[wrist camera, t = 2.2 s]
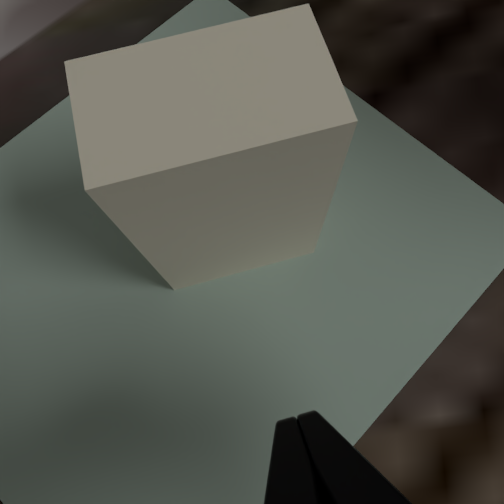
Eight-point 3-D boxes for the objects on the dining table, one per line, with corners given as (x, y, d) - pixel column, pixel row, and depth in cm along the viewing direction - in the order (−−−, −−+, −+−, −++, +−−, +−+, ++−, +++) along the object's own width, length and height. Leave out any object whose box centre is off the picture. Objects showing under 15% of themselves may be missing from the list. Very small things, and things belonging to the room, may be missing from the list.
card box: (313, 252, 18) (357, 120, 9) (174, 290, 17) (84, 190, 9) (289, 180, 19) (308, 3, 10) (158, 215, 18) (64, 61, 10)
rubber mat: (530, 232, 18) (537, 228, 18) (143, 687, 14) (139, 699, 13) (211, -5, 23) (210, -13, 23) (-149, 273, 19) (-160, 270, 18)
